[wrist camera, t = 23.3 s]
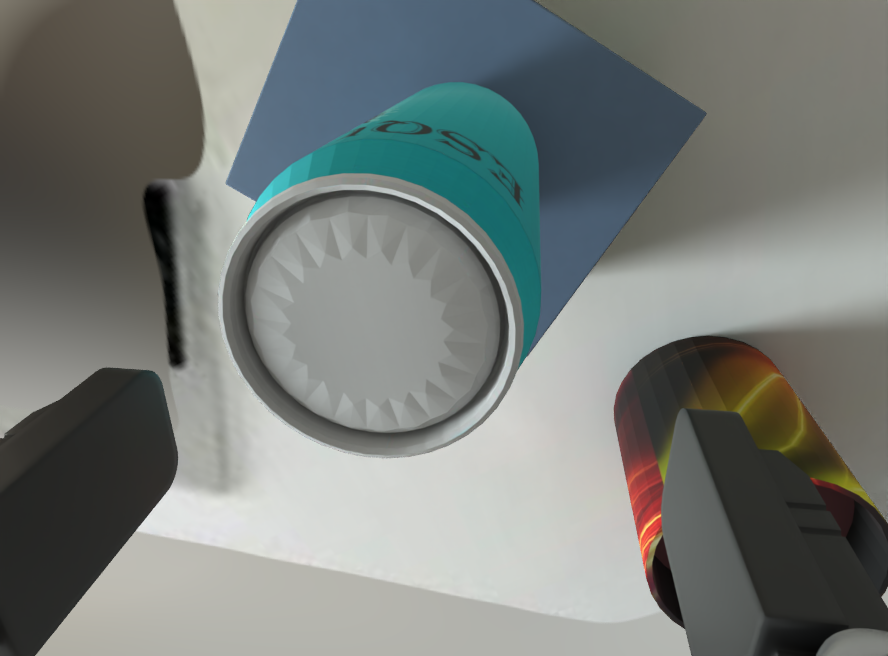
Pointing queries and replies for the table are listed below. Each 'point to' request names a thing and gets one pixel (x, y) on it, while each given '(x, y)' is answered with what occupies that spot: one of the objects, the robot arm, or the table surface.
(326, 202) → the beverage can
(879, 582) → the mug
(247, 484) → the table surface
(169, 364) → the table surface
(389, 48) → the box lid
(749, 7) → the table surface
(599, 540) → the table surface
